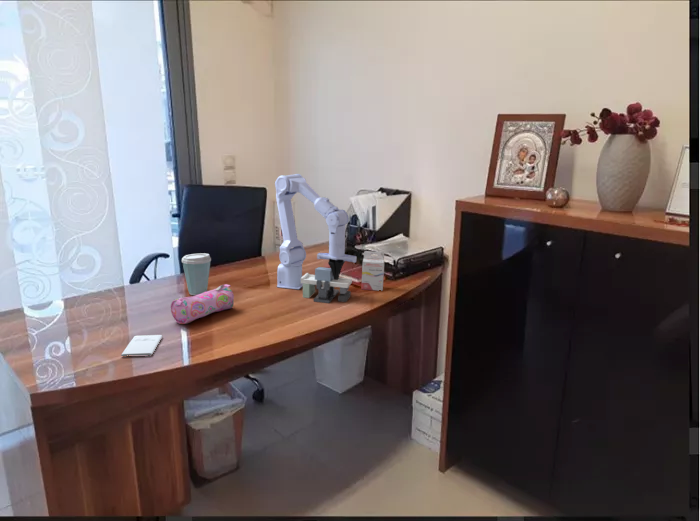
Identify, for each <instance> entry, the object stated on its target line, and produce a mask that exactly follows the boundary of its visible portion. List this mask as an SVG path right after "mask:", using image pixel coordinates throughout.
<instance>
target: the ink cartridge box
mask: <svg viewBox="0 0 700 521" xmlns="http://www.w3.org/2000/svg"><path fill="white" fill-rule="evenodd" d="M361 267H362V269H361V270H362V271H361V290H364V291H365V290H368V291H379V290H381V292H382V291H383V290H384V288H383V287H384V277H385V276H384V275H385V252H383V251H370V250H369V251H367V250H365V251H364V252H363V259H362V266H361Z"/></svg>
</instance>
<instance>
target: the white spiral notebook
mask: <svg viewBox="0 0 700 521" xmlns="http://www.w3.org/2000/svg"><path fill="white" fill-rule="evenodd" d="M162 337H164V336H163V335H162V334H149V335H148V334H146V335H134V336H133V338H132V339H131V340H130V341H129V343H128V344H127V345H126V348H125V349H124V350H123V351H122V353H121V356H127V355H128V356H129V355H152V354H153V352H154V351H155V352H156V350H157V349H156V347H157V345H158V344H159V345H160V343H161V342H160V340H161V338H162ZM162 339H163V338H162ZM161 341H162V340H161ZM159 342H160V343H159ZM159 345H158V346H159ZM157 348H158V347H157ZM155 349H156V350H155ZM155 352H154V353H155ZM153 355H154V354H153ZM121 356H120V357H121Z"/></svg>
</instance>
